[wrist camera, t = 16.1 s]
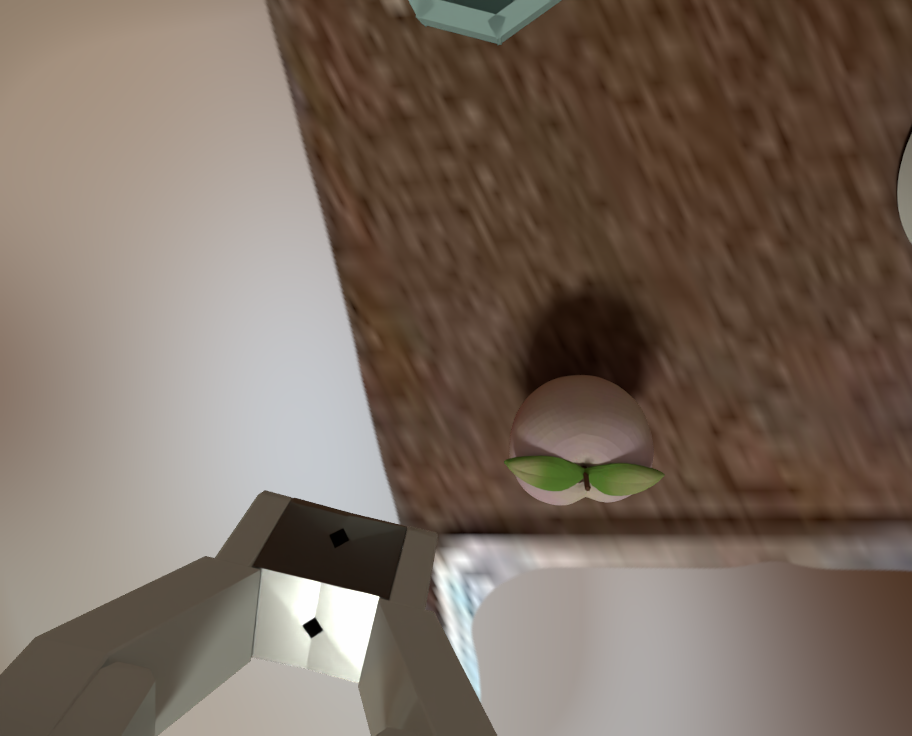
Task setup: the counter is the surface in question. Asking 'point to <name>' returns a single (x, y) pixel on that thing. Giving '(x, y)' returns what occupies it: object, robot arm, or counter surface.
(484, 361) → the counter surface
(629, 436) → the decorative fruit
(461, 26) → the studded octagonal holder
